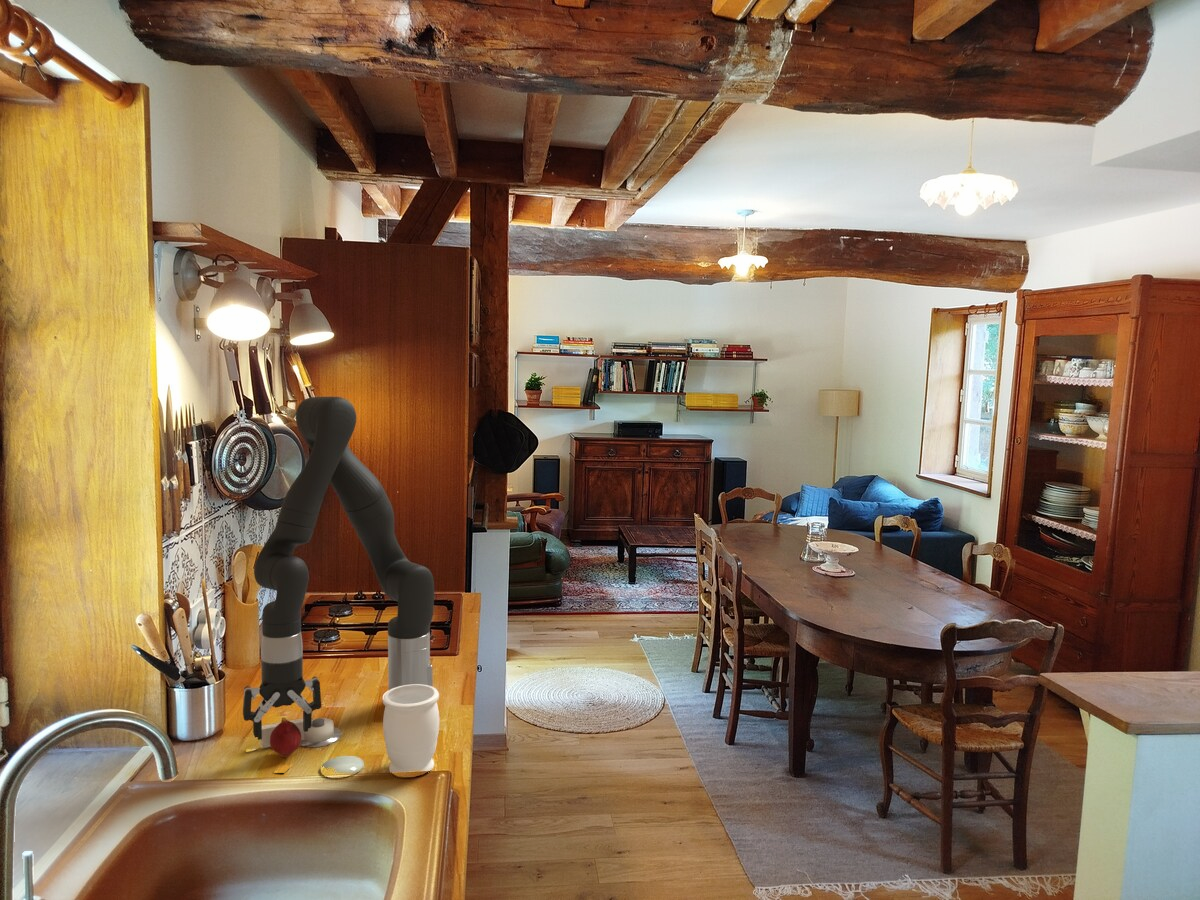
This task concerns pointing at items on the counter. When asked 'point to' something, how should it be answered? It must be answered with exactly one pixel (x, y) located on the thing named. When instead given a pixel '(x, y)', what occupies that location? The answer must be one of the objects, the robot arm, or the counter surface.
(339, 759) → the coaster
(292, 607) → the robot arm
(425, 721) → the jar
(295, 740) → the onion
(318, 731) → the handle
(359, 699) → the counter surface
